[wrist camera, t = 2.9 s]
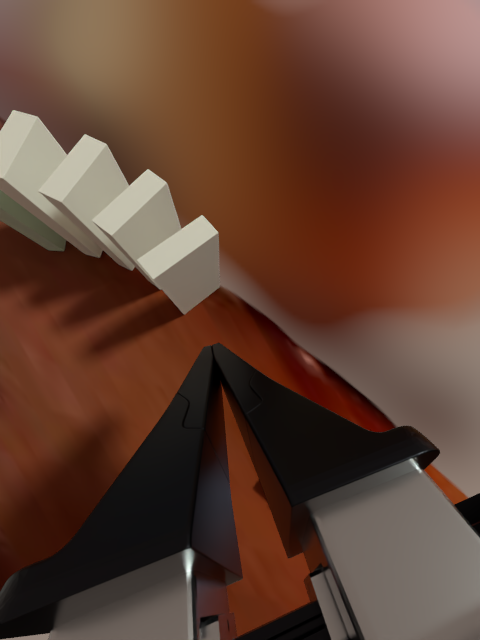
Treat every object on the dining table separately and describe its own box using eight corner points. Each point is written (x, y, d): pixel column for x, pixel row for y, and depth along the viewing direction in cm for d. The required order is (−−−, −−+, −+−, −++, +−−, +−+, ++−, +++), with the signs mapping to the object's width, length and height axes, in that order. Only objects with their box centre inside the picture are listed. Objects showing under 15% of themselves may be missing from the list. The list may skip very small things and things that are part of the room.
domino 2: (72, 210, 23) (-40, 99, 13) (64, 251, 22) (-63, 164, 12) (56, 209, 23) (-68, 96, 13) (48, 250, 22) (-94, 162, 12)
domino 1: (115, 218, 23) (37, 116, 13) (99, 258, 22) (3, 178, 12) (101, 215, 23) (13, 109, 13) (85, 254, 22) (-24, 171, 12)
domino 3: (155, 234, 23) (106, 144, 13) (132, 271, 22) (61, 202, 12) (142, 228, 23) (84, 134, 13) (118, 264, 22) (37, 191, 12)
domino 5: (219, 286, 23) (218, 232, 13) (184, 314, 22) (153, 279, 12) (210, 276, 23) (202, 214, 13) (174, 303, 22) (136, 259, 12)
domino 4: (190, 257, 23) (167, 183, 13) (160, 290, 22) (111, 235, 12) (179, 249, 23) (148, 168, 13) (149, 281, 22) (91, 220, 12)
